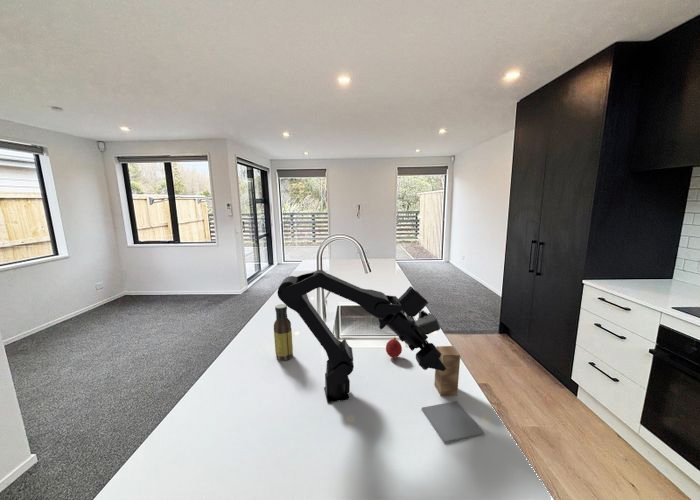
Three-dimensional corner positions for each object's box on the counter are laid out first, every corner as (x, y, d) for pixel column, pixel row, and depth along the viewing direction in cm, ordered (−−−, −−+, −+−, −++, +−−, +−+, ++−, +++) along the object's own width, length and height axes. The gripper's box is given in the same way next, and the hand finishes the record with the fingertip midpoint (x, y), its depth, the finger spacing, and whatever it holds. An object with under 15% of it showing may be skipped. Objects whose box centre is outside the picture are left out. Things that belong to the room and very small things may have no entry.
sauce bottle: (288, 350, 104) (286, 301, 100) (296, 357, 99) (294, 306, 96) (272, 356, 100) (269, 305, 96) (279, 364, 95) (277, 310, 92)
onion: (401, 363, 96) (402, 342, 94) (385, 361, 97) (385, 340, 95) (401, 354, 101) (402, 334, 100) (386, 352, 102) (386, 333, 101)
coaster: (444, 443, 63) (444, 441, 63) (421, 409, 74) (421, 407, 74) (484, 434, 66) (484, 432, 66) (456, 402, 77) (456, 400, 76)
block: (440, 396, 79) (443, 355, 77) (434, 384, 84) (436, 346, 82) (457, 395, 79) (460, 354, 77) (450, 384, 84) (452, 345, 82)
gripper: (435, 321, 68) (474, 359, 70) (413, 296, 86) (445, 327, 89) (403, 351, 69) (443, 388, 71) (388, 320, 87) (421, 350, 89)
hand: (438, 360), depth 80 cm, fingers open, 9 cm apart
